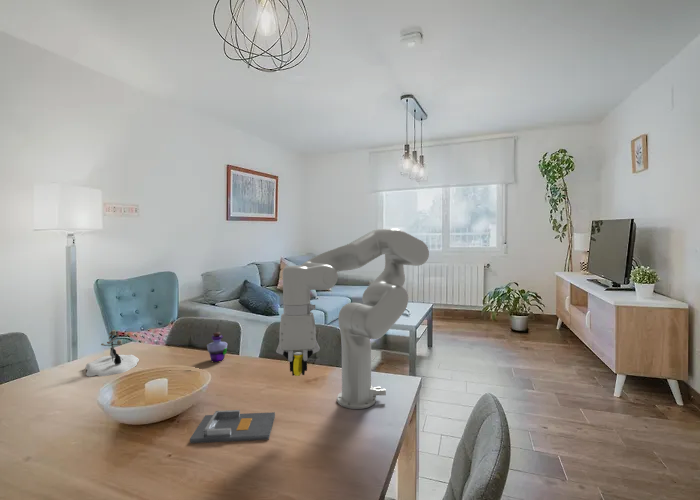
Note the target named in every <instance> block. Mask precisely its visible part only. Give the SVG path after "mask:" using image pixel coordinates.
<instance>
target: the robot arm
mask: <svg viewBox="0 0 700 500" xmlns="http://www.w3.org/2000/svg"><path fill="white" fill-rule="evenodd" d="M429 250H430V249H429V247H428V245H427V244H426V243H425V242H424V241H423V240H421V239H419V238H417V237H415V236H413V235H411V234H409V233H408V232H406V231H403V230H402V229H399V228H376V229H374V230H372V231H369V232H368V233H366V234H364V235H362V236H361V237H359V238H356V239H355V240H353V241H351V242H349V243H347V244H344V245H341V246H339V247H336V248H333V249H330V250H328V251H325V252H321V253H320V254H318V255H316V256H314V257H312V258H310V259H307V260H306V261H305V262H303V263H302V264H300V265H290V266H285V267H284V268H283V270H282V292H283V294H282V295H283V296H282V298H283V313H281V317H280V321H279V322H280V323H279V340H278V341H279V342H278V346H277V348H276V351H275V352H276V353H277V354H279V355H282V356H284V357H285V359H287V361H288V362H289V372H291V376H295V375H294V371H293V365H294V358H295V357H294V356H293V354H294V351H302V353H303V358H302V373H301V375H302V376H305V373H306V372H307V371H308V359H309V358H311V356H312V355H313V354H316V353H317V352H320V350H321V348H320V346H319V345H320V344H318V341H317V336H316V335H317V333H316V331H317V330H316V321H315V320H316V319H315V316H314V315H315V314H314V312H312V311H314V310H316V304H312V303H311V291H313V290H315V291H327V290H329V289H332V288H333V287H334V286H335V285H336V284H337V282H338V280H339V275H338V273H339V272H343V271H344V272H345V271H354V270H356V269H361V268H362V267H364V266H366V265H367V264H369V263H370V262H372V261H373V260H375V259H377V258H379V257H380V256H382V255H384V269H383V270H382V272H381V273H380V274H379V275H378V276H377V277H376V278H375V279H374V280H373V281H372V282H371V283H370V284H369V285H368V286H367V287H366V288H365V290H364V292H363V293H362V296H361V297H362V299H361V300H362V303H359V302H349V303H346V304H344V305H343V306H342V307H341V308H340V311H339V313H338V319H337V320H338V321H337V322H338V325H339V326H338V328H339V332H340V339H341V391H340V392H339V393H338V394H337V397H336V402H337V403H338V405H340V406H341V407H343V408H346V409H351V410H363V409H366V408H369V407H372V406H373V405H375V403H376V401H377V396H386V395H387V394H386V393H387V391H386V388H382V387H381V386H373V385H372V343H371V340H377V339H378V340H379V339H380V338H382V337H383V336H385V334H387V333H388V332H389V330H390V329H391V328H392V327H393V325H394V324H396V322H398V320H399V319H400V318H401V317H402V316H403V314H404V313H405V311H406V309H407V307H408V304H409V295H408V294H409V293H408V292H407V290H406V289H405V288H404V287H403V286H404V285H405V282H406V276H405V268H404V266H413V267H414V266H415V267H416V266H418V267H419V266H422V265H424V264H425V263H426V262H428V259H429V257H430V251H429Z"/></svg>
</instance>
